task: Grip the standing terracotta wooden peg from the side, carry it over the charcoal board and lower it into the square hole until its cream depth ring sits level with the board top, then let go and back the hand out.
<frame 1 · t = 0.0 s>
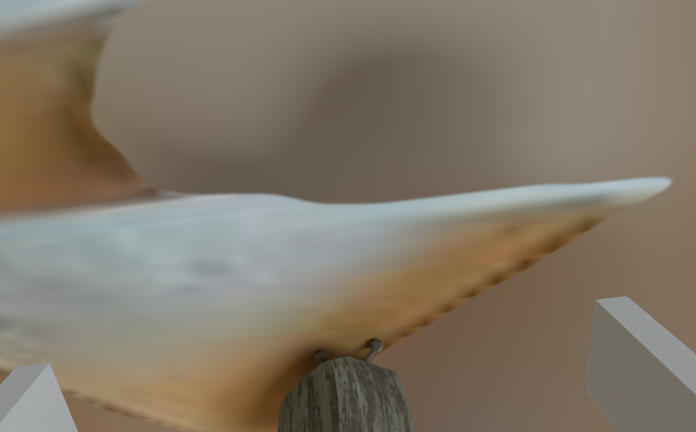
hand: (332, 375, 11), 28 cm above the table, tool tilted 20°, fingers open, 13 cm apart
tabletop clock: (333, 353, 60), on the table
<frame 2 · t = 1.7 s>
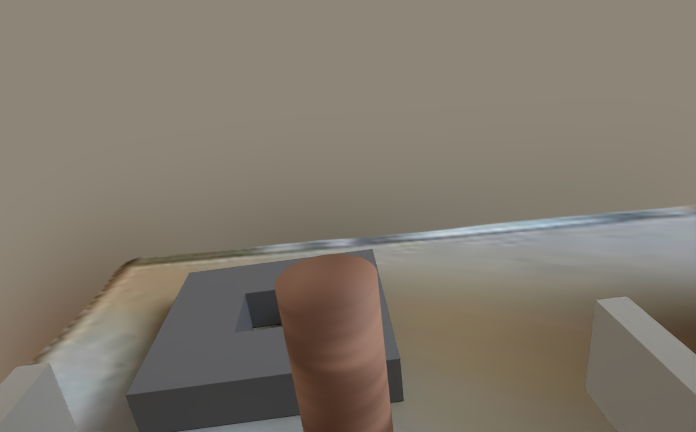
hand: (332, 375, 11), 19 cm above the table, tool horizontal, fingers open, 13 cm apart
board: (281, 343, 43), on the table
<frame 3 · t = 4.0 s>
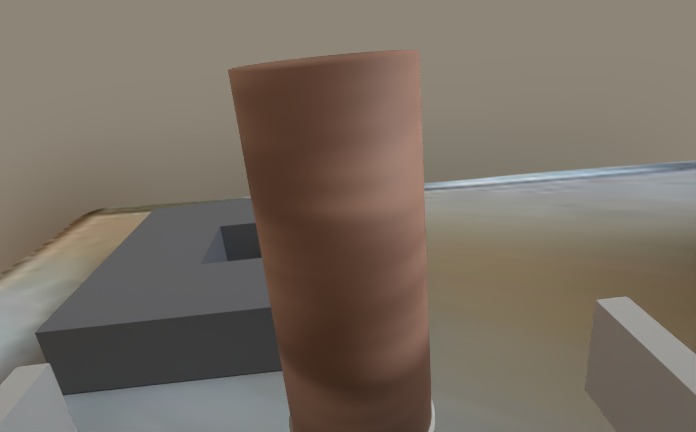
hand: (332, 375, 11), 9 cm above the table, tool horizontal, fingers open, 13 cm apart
board: (264, 289, 33), on the table
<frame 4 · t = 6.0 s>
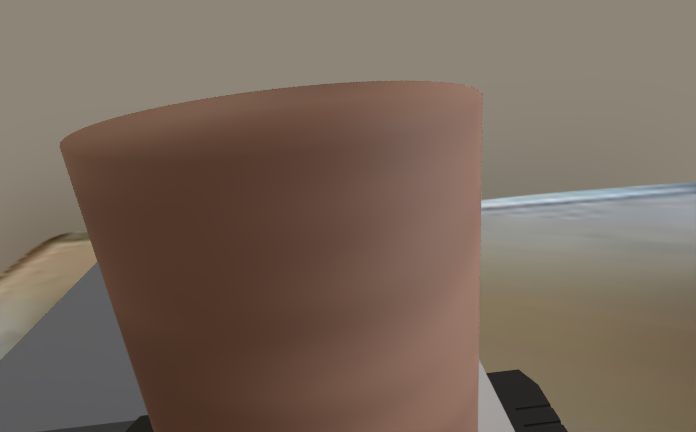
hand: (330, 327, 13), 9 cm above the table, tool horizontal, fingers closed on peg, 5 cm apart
board: (241, 349, 27), on the table
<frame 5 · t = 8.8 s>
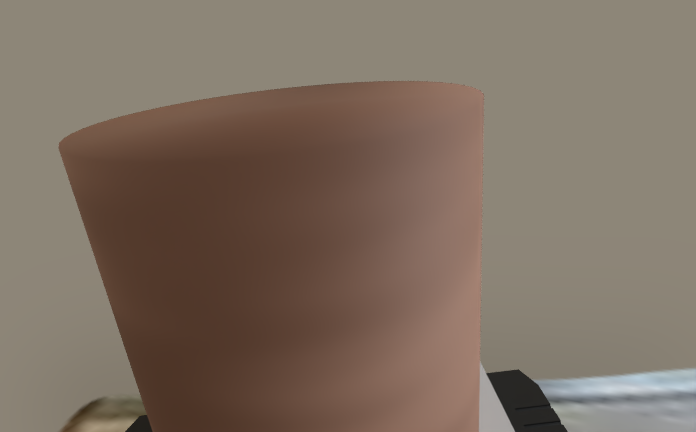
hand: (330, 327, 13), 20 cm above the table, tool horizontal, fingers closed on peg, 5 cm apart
when the fingers open (10 cm above the table, at t = 11.7 s): peg drops 1 cm, resting in board.
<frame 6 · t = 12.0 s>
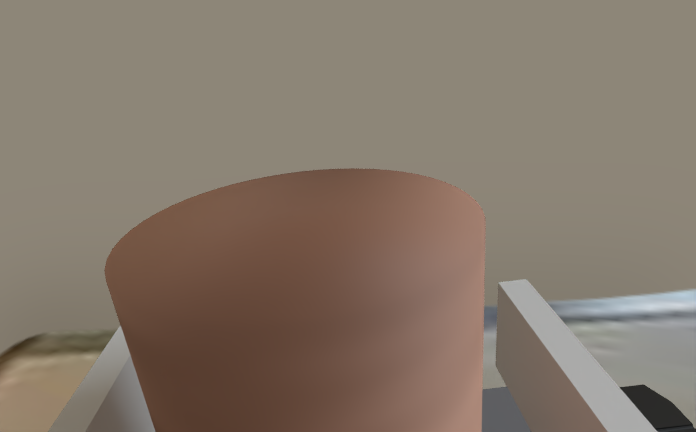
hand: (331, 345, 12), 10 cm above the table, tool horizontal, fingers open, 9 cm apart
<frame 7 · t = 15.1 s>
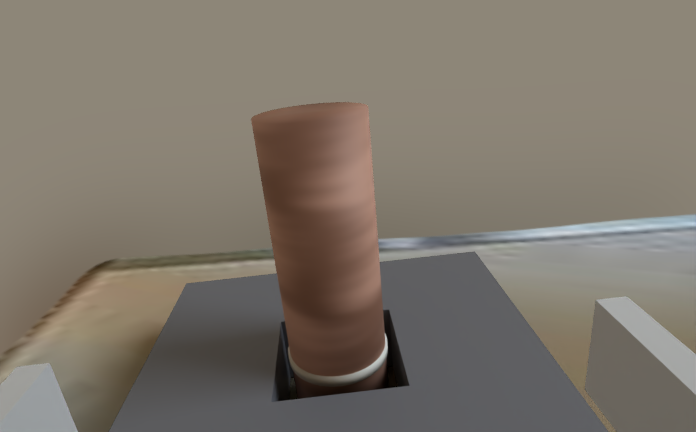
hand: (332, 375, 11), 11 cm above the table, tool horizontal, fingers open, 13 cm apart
board: (344, 410, 25), on the table
peg: (345, 411, 25), resting in board
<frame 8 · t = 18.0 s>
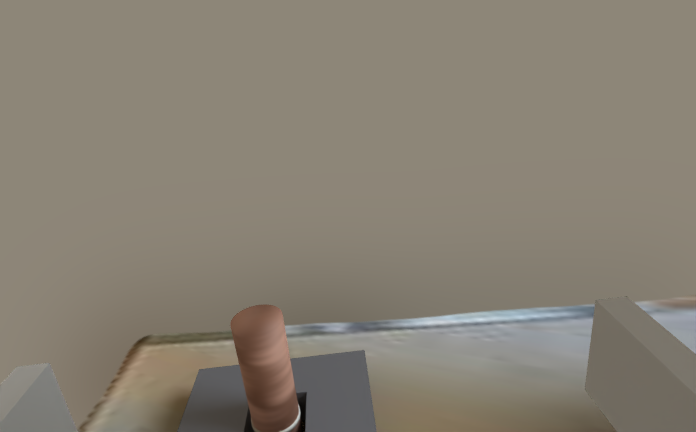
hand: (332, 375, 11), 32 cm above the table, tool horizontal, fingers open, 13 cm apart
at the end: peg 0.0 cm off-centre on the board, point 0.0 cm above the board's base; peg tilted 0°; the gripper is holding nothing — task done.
